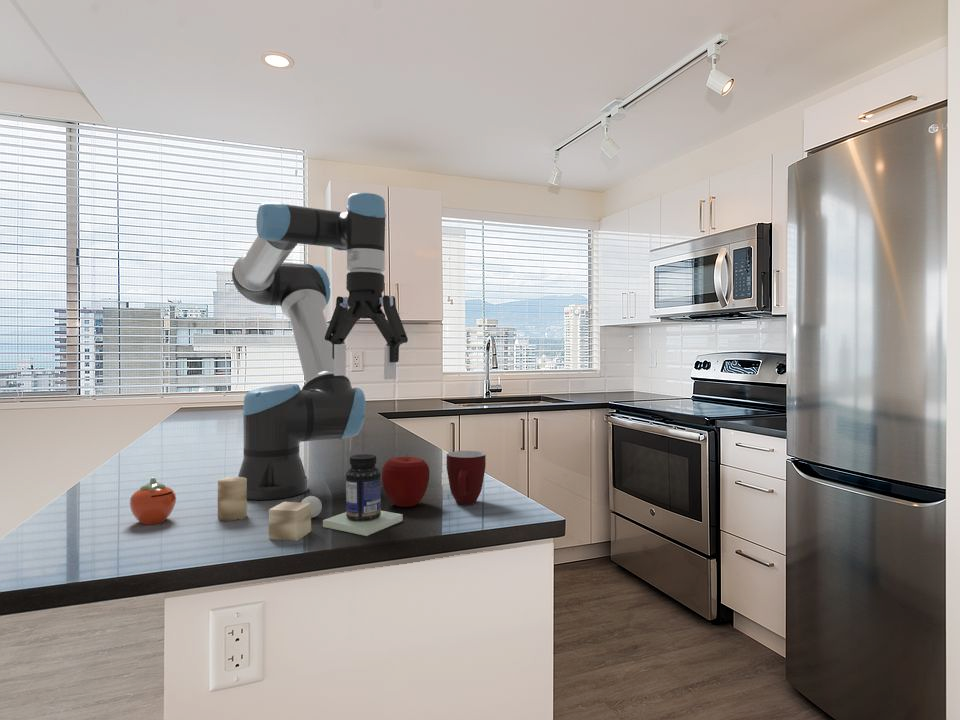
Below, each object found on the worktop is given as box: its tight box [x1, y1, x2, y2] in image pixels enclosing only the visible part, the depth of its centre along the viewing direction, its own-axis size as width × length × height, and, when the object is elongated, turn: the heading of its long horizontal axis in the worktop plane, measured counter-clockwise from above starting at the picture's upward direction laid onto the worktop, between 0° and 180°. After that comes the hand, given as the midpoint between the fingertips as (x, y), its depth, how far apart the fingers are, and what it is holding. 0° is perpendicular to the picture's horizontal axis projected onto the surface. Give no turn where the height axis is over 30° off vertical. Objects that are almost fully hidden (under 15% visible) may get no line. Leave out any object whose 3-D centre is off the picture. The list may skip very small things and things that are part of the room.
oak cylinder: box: [217, 476, 248, 522], centre depth 108 cm, size 5×5×7 cm
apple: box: [381, 454, 430, 508], centre depth 117 cm, size 10×10×10 cm
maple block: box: [268, 501, 312, 542], centre depth 98 cm, size 5×5×5 cm
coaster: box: [322, 510, 404, 537], centre depth 104 cm, size 10×10×1 cm
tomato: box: [129, 477, 177, 526], centre depth 105 cm, size 7×7×8 cm
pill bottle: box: [345, 453, 382, 521], centre depth 104 cm, size 6×6×11 cm
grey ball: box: [300, 495, 323, 519], centre depth 108 cm, size 4×4×4 cm
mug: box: [446, 450, 487, 506], centre depth 118 cm, size 11×8×10 cm
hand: (364, 377), depth 117 cm, fingers open, 13 cm apart
